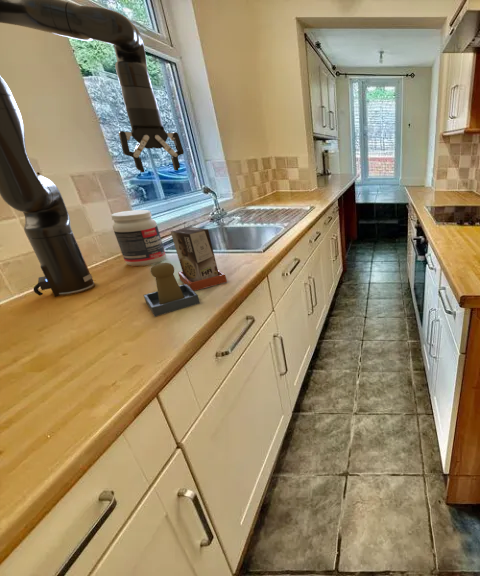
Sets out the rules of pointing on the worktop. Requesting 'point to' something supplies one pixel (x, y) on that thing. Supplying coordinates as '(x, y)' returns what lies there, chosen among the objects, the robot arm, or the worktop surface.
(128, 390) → the worktop surface
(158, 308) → the slate tray
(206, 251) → the coffee box
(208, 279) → the terracotta tray
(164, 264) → the cork
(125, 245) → the supplement tub
